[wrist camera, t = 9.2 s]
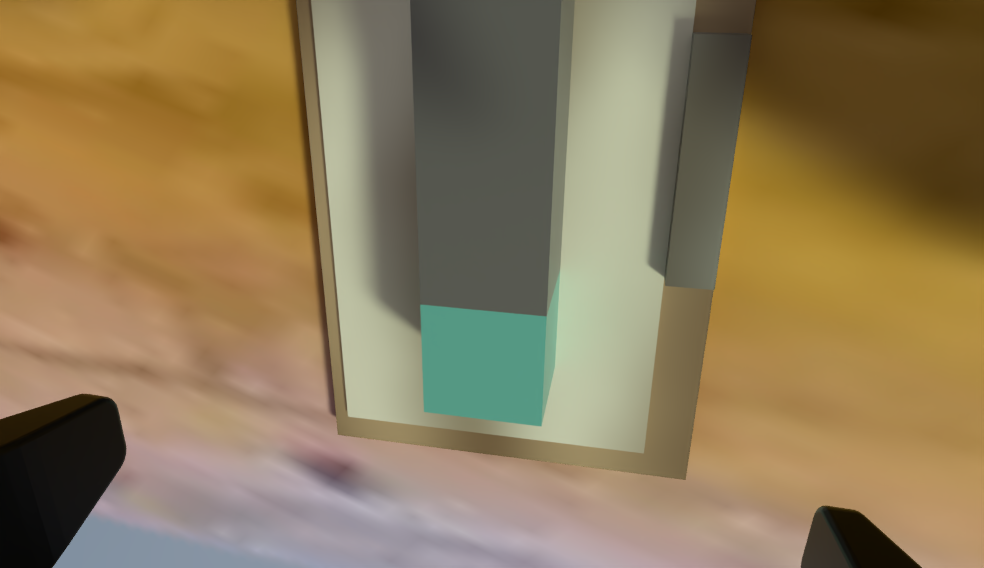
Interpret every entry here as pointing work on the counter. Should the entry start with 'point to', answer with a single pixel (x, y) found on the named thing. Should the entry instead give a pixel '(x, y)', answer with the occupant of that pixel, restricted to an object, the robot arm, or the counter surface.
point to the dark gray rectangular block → (490, 200)
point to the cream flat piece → (585, 234)
